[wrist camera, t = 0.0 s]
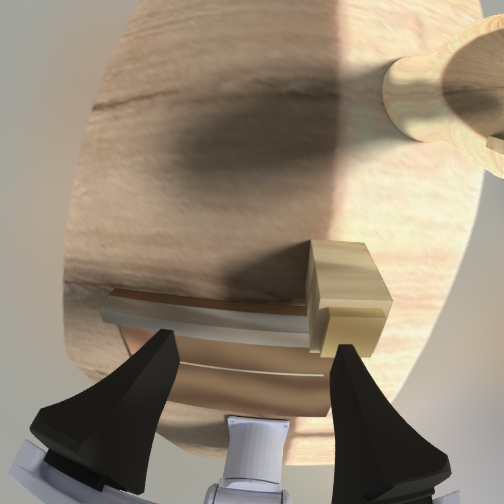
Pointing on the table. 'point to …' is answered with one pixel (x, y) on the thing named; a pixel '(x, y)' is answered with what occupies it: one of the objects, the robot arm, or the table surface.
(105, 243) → the table surface
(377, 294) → the tan block
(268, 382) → the board
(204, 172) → the table surface
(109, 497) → the robot arm
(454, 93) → the beer glass
